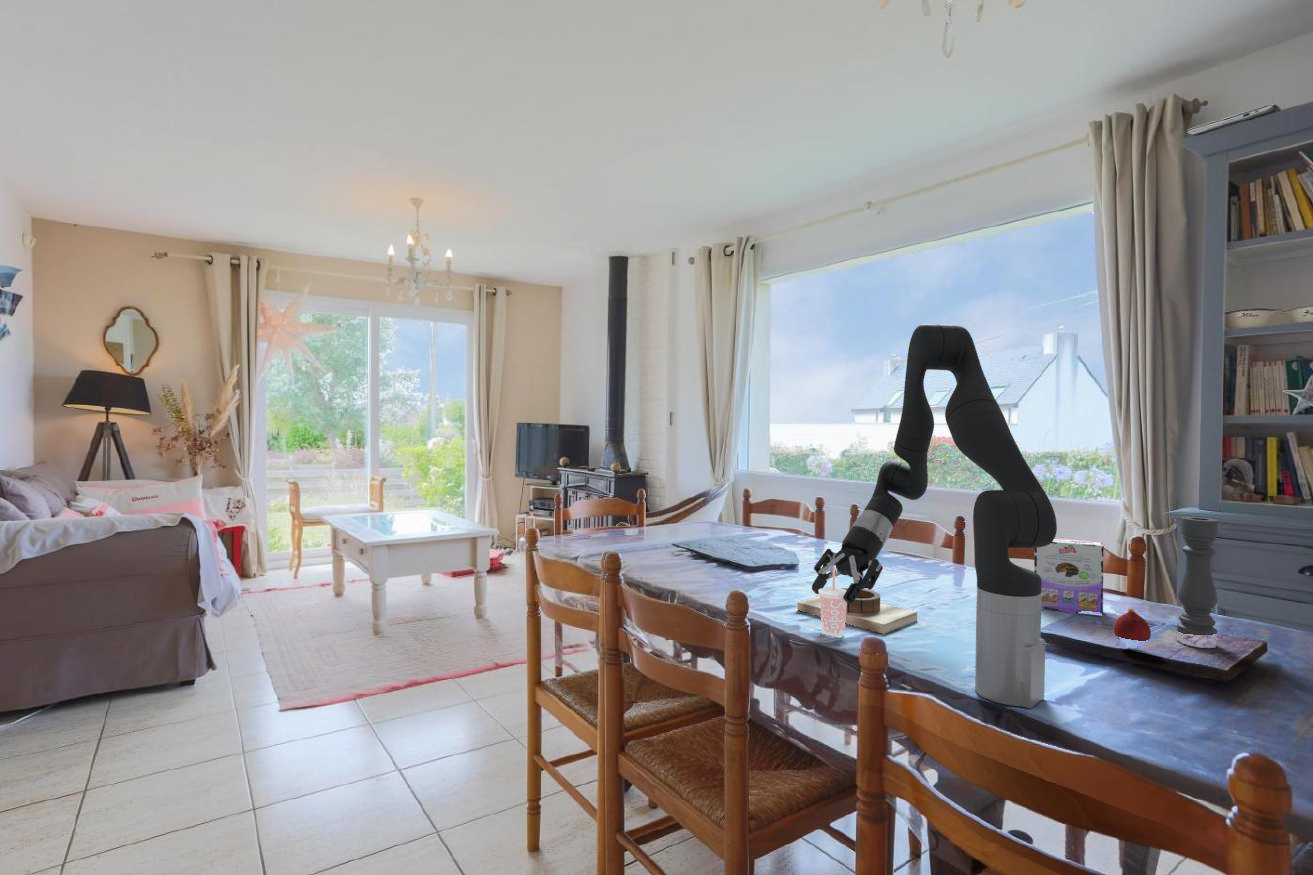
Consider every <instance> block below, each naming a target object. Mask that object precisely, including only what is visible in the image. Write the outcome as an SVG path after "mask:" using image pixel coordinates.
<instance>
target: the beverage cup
mask: <svg viewBox="0 0 1313 875" xmlns="http://www.w3.org/2000/svg"><path fill="white" fill-rule="evenodd" d="M835 570H836V566H833V577H832V582H831V583H832V586H831V587H823V588H821V589H819V590H818V591H819V594H818V596H820V608H821V617H820V623H821V634H822V635H823V634H826V635H831V636H842V635H844V634H845V633H846V624H845V623H846V609H847V603H846V601H845V600H844V599H843V596H844V594H845V593H846V591H847V590H845V589H841V588H842V587H841V588H840V587H835V586H836V585H835V584H836V577H835ZM845 635H846V634H845ZM845 635H844V636H845Z"/></svg>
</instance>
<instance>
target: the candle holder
mask: <svg viewBox="0 0 1313 875" xmlns="http://www.w3.org/2000/svg"><path fill="white" fill-rule="evenodd" d="M1180 520H1181V521H1180V525H1181V526H1180V534H1181V535H1182V539H1183V540H1184V543H1186V545H1184V546H1183V547H1181V551H1182V552H1183V553H1184V555H1185V557H1186V558H1185V572H1184V575H1183V577H1182V580H1181V583H1180V586H1179V589H1178V592H1177V599H1178V600H1179V602H1180V604H1181V605H1182V606H1183V607H1182V609H1183V610H1184V611H1182V613H1181V614H1179V616H1178V620H1179V621H1180V622H1177V624H1176V632H1177V631H1178V632H1181V633H1183V634H1193V635H1213V634H1217V635H1218V633H1217V632H1218V630H1217V629H1216V628H1215V626H1216V620H1215V619H1214V618H1213V616H1212V615H1211V613H1212V612H1213V610H1212V609H1214V608H1215V607H1216V605H1217V603H1218V602H1219V601H1218V599H1219V598H1218V595H1217V591H1216V587H1215V582H1214V578H1213V575H1212V558H1213V556H1214V555H1216V553H1217V551H1216V549H1214V548H1213V547H1212V546H1213V545H1214V543H1215V542H1216V541H1217V538H1218V536H1219V519H1214V518H1209V517H1208V518H1207V517H1201V516H1200V517H1199V516H1198V517H1197V516H1181V518H1180Z"/></svg>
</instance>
